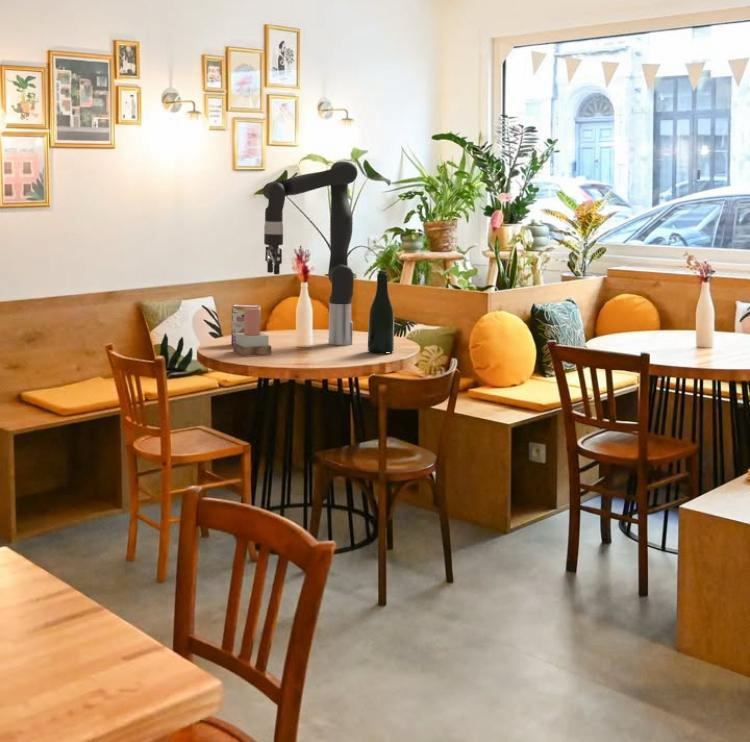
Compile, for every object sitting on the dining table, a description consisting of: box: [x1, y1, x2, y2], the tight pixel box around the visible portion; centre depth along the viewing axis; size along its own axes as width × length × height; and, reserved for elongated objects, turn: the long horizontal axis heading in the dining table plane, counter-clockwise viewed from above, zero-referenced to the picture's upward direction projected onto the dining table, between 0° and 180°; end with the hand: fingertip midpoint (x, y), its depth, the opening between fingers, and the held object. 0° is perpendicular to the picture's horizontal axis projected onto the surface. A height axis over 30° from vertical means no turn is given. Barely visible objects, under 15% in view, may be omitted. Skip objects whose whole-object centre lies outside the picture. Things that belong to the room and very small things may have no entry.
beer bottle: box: [367, 269, 395, 354], centre depth 429 cm, size 10×10×33 cm
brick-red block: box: [244, 308, 261, 336], centre depth 420 cm, size 5×5×10 cm
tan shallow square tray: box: [232, 343, 272, 357], centre depth 422 cm, size 12×12×4 cm
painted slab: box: [236, 332, 270, 347], centre depth 421 cm, size 10×10×4 cm
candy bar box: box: [230, 304, 262, 346], centre depth 441 cm, size 11×5×16 cm, turn 84°
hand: (273, 273), depth 433 cm, fingers open, 8 cm apart
